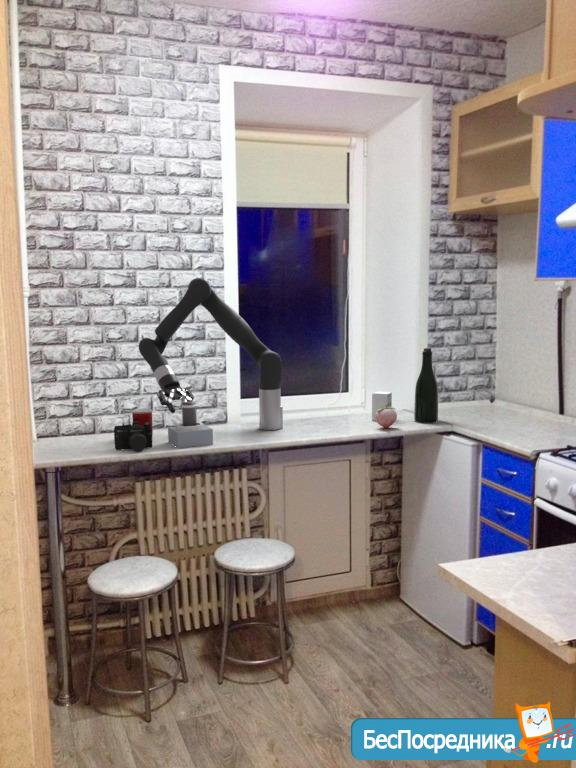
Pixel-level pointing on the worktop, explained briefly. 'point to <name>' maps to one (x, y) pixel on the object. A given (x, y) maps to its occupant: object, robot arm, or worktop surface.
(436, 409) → the dark green wine bottle
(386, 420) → the decorative fruit
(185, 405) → the lens
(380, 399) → the supplement box
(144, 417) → the canned food
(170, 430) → the low grey box
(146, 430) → the camera
